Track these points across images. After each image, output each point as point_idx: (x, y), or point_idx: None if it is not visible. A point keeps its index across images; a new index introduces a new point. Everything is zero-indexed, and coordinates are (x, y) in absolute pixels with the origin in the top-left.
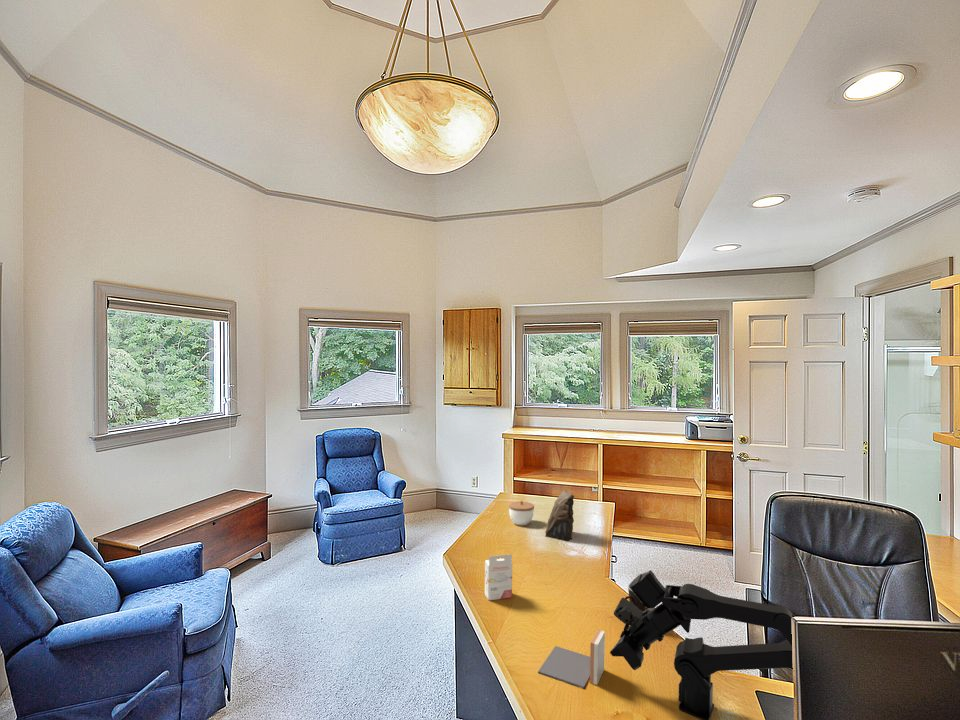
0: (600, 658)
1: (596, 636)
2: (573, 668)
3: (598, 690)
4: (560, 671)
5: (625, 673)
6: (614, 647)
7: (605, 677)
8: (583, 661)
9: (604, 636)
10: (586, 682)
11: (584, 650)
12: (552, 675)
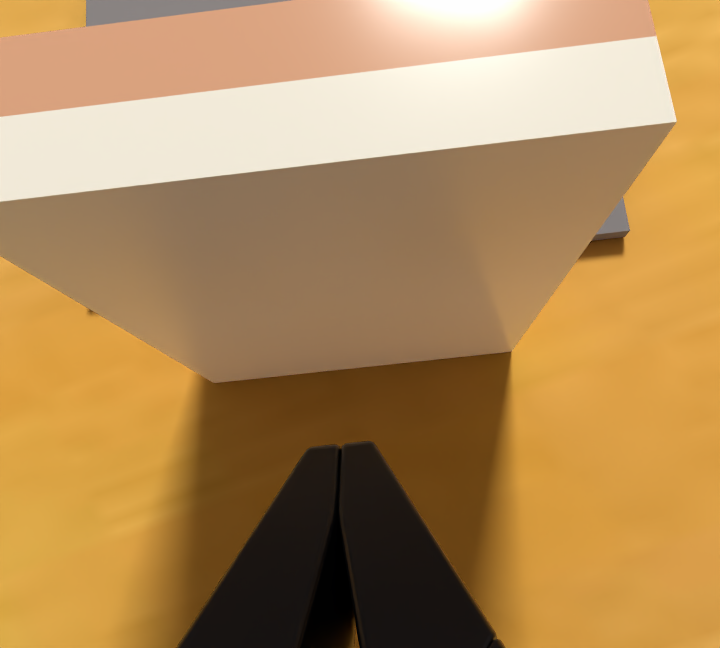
0: (306, 313)
1: (278, 48)
2: None
3: (141, 426)
4: None
5: (610, 582)
6: (268, 559)
7: (390, 411)
8: None
9: (603, 184)
10: None
11: (700, 60)
12: (94, 2)
